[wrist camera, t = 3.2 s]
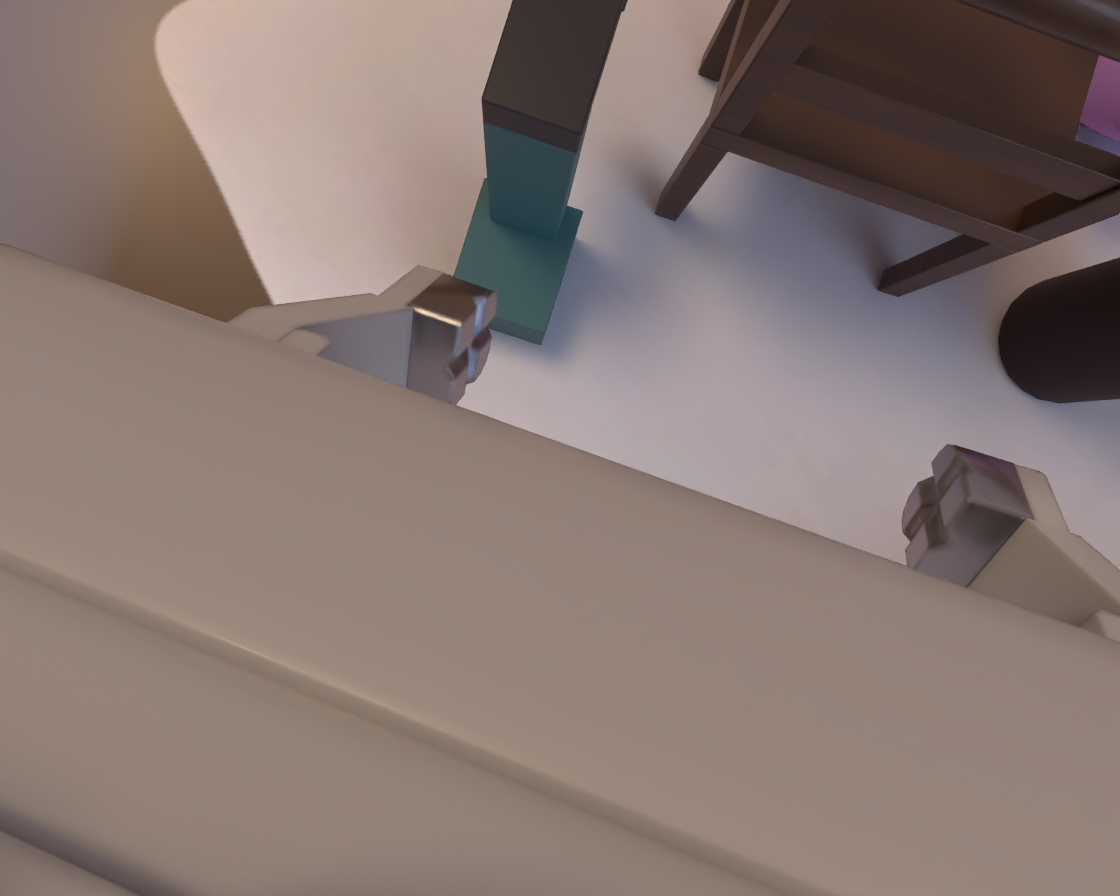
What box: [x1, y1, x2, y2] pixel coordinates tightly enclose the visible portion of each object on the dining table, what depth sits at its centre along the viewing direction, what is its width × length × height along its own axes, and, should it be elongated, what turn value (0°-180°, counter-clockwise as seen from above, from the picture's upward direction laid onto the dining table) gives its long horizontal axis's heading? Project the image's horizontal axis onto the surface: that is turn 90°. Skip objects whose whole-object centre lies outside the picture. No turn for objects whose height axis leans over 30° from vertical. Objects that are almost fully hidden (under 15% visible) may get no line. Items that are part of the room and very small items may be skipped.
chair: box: [655, 0, 1120, 297], centre depth 27 cm, size 9×14×22 cm
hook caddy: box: [454, 0, 627, 345], centre depth 29 cm, size 12×5×16 cm, turn 163°
